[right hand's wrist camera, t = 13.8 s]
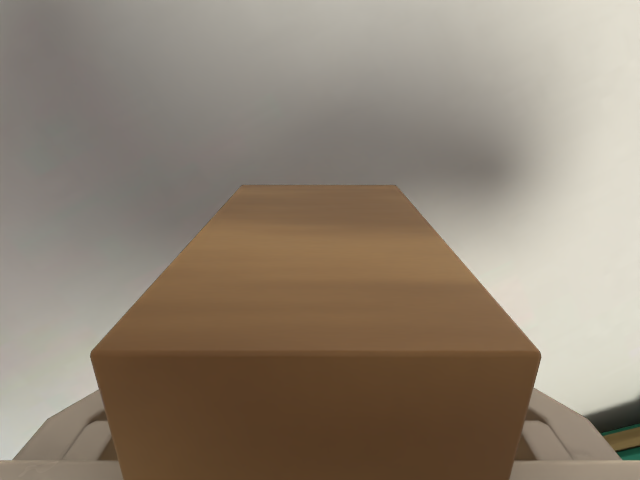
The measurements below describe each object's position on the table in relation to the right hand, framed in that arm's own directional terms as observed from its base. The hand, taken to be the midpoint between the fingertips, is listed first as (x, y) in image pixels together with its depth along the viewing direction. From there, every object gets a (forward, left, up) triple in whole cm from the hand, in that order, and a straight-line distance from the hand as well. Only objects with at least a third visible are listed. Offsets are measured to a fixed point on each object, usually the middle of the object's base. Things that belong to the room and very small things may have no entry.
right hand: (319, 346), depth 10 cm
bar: (+7, -3, -3) cm, 8 cm away
